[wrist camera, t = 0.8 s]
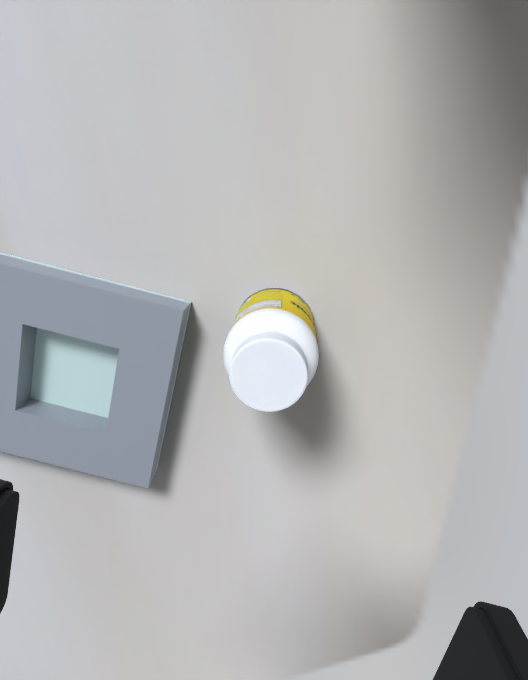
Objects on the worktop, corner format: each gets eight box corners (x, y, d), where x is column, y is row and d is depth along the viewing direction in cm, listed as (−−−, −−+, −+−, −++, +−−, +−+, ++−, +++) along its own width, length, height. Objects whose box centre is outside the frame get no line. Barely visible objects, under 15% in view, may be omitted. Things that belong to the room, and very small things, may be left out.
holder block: (-6, 250, 33) (-30, 255, 30) (191, 301, 33) (183, 310, 30) (-17, 425, 37) (-38, 441, 35) (157, 469, 37) (147, 488, 35)
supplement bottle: (322, 349, 33) (332, 414, 24) (248, 367, 34) (230, 435, 25) (304, 275, 32) (307, 314, 22) (227, 295, 33) (199, 340, 23)
